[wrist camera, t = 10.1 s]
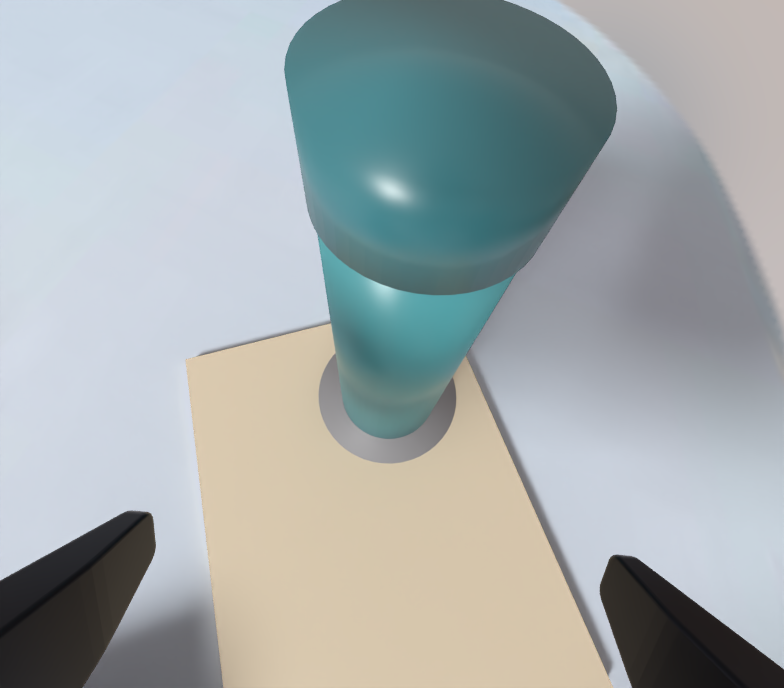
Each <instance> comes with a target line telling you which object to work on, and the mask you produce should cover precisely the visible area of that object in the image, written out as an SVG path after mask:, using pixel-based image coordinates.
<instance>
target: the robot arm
mask: <svg viewBox="0 0 784 688" xmlns="http://www.w3.org/2000/svg"><path fill="white" fill-rule="evenodd" d="M155 548H156V542H155V533H154V523H153V516H152V515H151V513H149V512H142V511H127V512H124V513H122V514H120V515H118V516H117V517H115V518H113V519H111V520H109V521H108V522H106V523H104V524H102V525H100V526H99V527H97V528H95V529H93V530H91V531H89V532H88V533H86V534H84V535H82V536H80V537H79V538H77V539H75V540H73V541H71V542H70V543H68V544H66V545H64V546H62V547H60V548H59V549H57V550H55V551H53V552H51V553H50V554H48V555H46V556H44V557H42V558H40V559H39V560H37V561H35V562H33V563H31V564H30V565H28V566H26V567H24V568H22V569H21V570H19V571H17V572H15V573H13V574H11V575H10V576H8V577H6V578H4V579H2V580H1V581H0V688H83V686H84V684H85V683H86V681H87V680H88V678H89V676H90V675H91V673H92V671H93V670H94V668H95V667H96V665H97V663H98V662H99V660H100V658H101V657H102V655H103V653H104V652H105V650H106V648H107V646H108V644H109V643H110V641H111V639H112V637H113V635H114V633H115V631H116V629H117V627H118V625H119V623H120V622H121V620H122V618H123V616H124V614H125V612H126V610H127V608H128V606H129V604H130V602H131V600H132V598H133V596H134V594H135V592H136V590H137V588H138V586H139V584H140V582H141V580H142V579H143V577H144V575H145V573H146V571H147V569H148V567H149V565H150V563H151V561H152V559H153V556H154V553H155ZM600 596H601V600H602V603H603V606H604V609H605V612H606V615H607V618H608V620H609V623H610V626H611V629H612V632H613V635H614V638H615V641H616V643H617V646H618V649H619V652H620V655H621V658H622V661H623V664H624V667H625V669H626V672H627V675H628V678H629V681H630V683H631V686H632V688H784V669H783V668H781V667H780V666H779V665H777V664H776V663H775V662H774V661H772V660H771V659H770V658H768V657H767V656H766V655H764V654H763V653H762V652H760V651H759V650H758V649H756V648H755V647H754V646H752V645H751V644H750V643H748V642H747V641H746V640H744V639H743V638H742V637H740V636H739V635H738V634H737V633H735V632H734V631H733V630H731V629H730V628H729V627H727V626H726V625H725V624H723V623H722V622H721V621H719V620H718V619H717V618H715V617H714V616H713V615H711V614H710V613H709V612H707V611H706V610H705V609H704V608H702V607H701V606H700V605H698V604H697V603H696V602H694V601H693V600H692V599H690V598H689V597H688V596H686V595H685V594H684V593H682V592H681V591H680V590H678V589H677V588H676V587H674V586H673V585H672V584H670V583H669V582H668V581H667V580H665V579H664V578H663V577H661V576H660V575H659V574H657V573H656V572H655V571H653V570H652V569H651V568H649V567H648V566H647V565H645V564H644V563H643V562H641V561H640V560H639V559H637V558H635V557H633V556H625V555H613V556H612V557H611V558H610V559H609V562H608V564H607V567H606V570H605V573H604V575H603V578H602V581H601V584H600Z"/></svg>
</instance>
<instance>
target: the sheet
mask: <svg viewBox="0 0 784 688" xmlns="http://www.w3.org/2000/svg"><path fill="white" fill-rule="evenodd" d="M186 368H187V376H188V385H189V394H190V403H191V411H192V420H193V429H194V437H195V446H196V455H197V463H198V472H199V481H200V489H201V498H202V507H203V515H204V524H205V533H206V542H207V550H208V559H209V568H210V576H211V585H212V594H213V602H214V611H215V620H216V628H217V637H218V646H219V654H220V663H221V672H222V681H223V688H613V686H612V684H611V682H610V679H609V677H608V675H607V673H606V670H605V668H604V666H603V664H602V661H601V659H600V657H599V655H598V652H597V650H596V648H595V646H594V643H593V641H592V639H591V637H590V634H589V632H588V630H587V627H586V625H585V623H584V621H583V618H582V616H581V614H580V612H579V609H578V607H577V605H576V603H575V600H574V598H573V596H572V594H571V591H570V589H569V587H568V585H567V582H566V580H565V578H564V576H563V573H562V571H561V569H560V567H559V564H558V562H557V560H556V558H555V555H554V553H553V551H552V549H551V546H550V544H549V542H548V540H547V537H546V535H545V533H544V531H543V528H542V526H541V524H540V522H539V519H538V517H537V515H536V513H535V510H534V508H533V506H532V504H531V501H530V499H529V497H528V495H527V492H526V490H525V488H524V486H523V483H522V481H521V479H520V477H519V474H518V472H517V470H516V468H515V465H514V463H513V461H512V459H511V456H510V454H509V452H508V450H507V447H506V445H505V443H504V441H503V438H502V436H501V434H500V432H499V429H498V427H497V425H496V422H495V420H494V418H493V416H492V413H491V411H490V409H489V407H488V404H487V402H486V400H485V398H484V395H483V393H482V391H481V389H480V386H479V384H478V382H477V380H476V377H475V375H474V373H473V371H472V368H471V366H470V364H469V362H468V359H467V357H466V356H465V357H464V359H463V361H462V362H461V364H460V366H459V367H458V369H457V370H456V372H455V374H454V375H453V377H452V379H451V380H450V382H449V384H448V385H447V387H446V388H445V390H444V392H443V393H442V395H441V397H440V398H439V400H438V402H437V403H436V405H435V406H434V408H433V410H432V411H431V413H430V415H429V416H428V418H427V419H426V421H425V422H424V423H423V424H422V426H420V427H419V428H418V429H417V430H416V431H414V432H413V433H411V434H409V435H407V436H404V437H400V438H395V439H383V438H378V437H374V436H371V435H369V434H367V433H365V432H363V431H362V430H360V429H359V428H358V427H357V426H356V425H355V424H354V423H353V422H352V421H351V420H350V418H349V416H348V415H347V413H346V410H345V408H344V404H343V399H342V393H341V386H340V379H339V373H338V366H337V359H336V353H335V346H334V340H333V333H332V326H331V323H330V324H326V325H322V326H318V327H314V328H310V329H306V330H302V331H298V332H294V333H290V334H286V335H282V336H278V337H274V338H270V339H266V340H262V341H258V342H254V343H250V344H246V345H242V346H238V347H234V348H230V349H226V350H222V351H218V352H214V353H210V354H206V355H202V356H198V357H194V358H190V359H186Z"/></svg>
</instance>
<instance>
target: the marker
mask: <svg viewBox="0 0 784 688" xmlns="http://www.w3.org/2000/svg"><path fill="white" fill-rule="evenodd" d="M284 70H285V78H286V86H287V91H288V97H289V103H290V109H291V115H292V121H293V127H294V132H295V138H296V144H297V150H298V156H299V162H300V168H301V173H302V179H303V185H304V191H305V197H306V203H307V209H308V213H309V216H310V219H311V222H312V224H313V226H314V228H315V230H316V232H317V234H318V240H319V247H320V254H321V260H322V267H323V273H324V280H325V287H326V293H327V300H328V306H329V313H330V320H331V326H332V333H333V340H334V346H335V353H336V359H337V366H338V373H339V379H340V386H341V393H342V399H343V404H344V408H345V410H346V413H347V415H348V416H349V418H350V420H351V421H352V422H353V423H354V424H355V425H356V426H357V427H358V428H359V429H360V430H362V431H363V432H365V433H367V434H369V435H371V436H374V437H378V438H383V439H395V438H400V437H404V436H407V435H409V434H411V433H413V432H414V431H416V430H417V429H418V428H419V427H420V426H422V424H423V423H424V422H425V421H426V419H427V418H428V416H429V415H430V413H431V411H432V410H433V408H434V406H435V405H436V403H437V402H438V400H439V398H440V397H441V395H442V393H443V392H444V390H445V388H446V387H447V385H448V384H449V382H450V380H451V379H452V377H453V375H454V374H455V372H456V370H457V369H458V367H459V366H460V364H461V362H462V361H463V359H464V357H465V356H466V354H467V352H468V351H469V349H470V348H471V346H472V344H473V343H474V341H475V339H476V338H477V336H478V334H479V333H480V331H481V330H482V328H483V326H484V325H485V323H486V321H487V320H488V318H489V316H490V315H491V313H492V312H493V310H494V308H495V307H496V305H497V303H498V302H499V300H500V298H501V297H502V295H503V294H504V292H505V290H506V289H507V287H508V285H509V284H510V282H511V280H512V279H513V277H514V276H515V274H516V272H518V271H519V270H520V269H522V268H523V267H524V266H525V265H526V264H527V263H528V262H529V260H530V259H531V258H532V257H533V256H534V254H535V253H536V251H537V249H538V248H539V246H540V245H541V243H542V242H543V240H544V238H545V237H546V235H547V234H548V232H549V231H550V229H551V227H552V226H553V224H554V223H555V221H556V220H557V218H558V216H559V215H560V213H561V212H562V210H563V209H564V207H565V206H566V204H567V202H568V201H569V199H570V198H571V196H572V195H573V193H574V191H575V190H576V188H577V187H578V185H579V184H580V182H581V180H582V179H583V177H584V176H585V174H586V173H587V171H588V169H589V168H590V166H591V165H592V163H593V162H594V160H595V158H596V157H597V155H598V154H599V152H600V151H601V149H602V147H603V146H604V144H605V143H606V141H607V140H608V138H609V136H610V135H611V132H612V130H613V127H614V124H615V120H616V112H617V105H616V95H615V92H614V89H613V86H612V82H611V81H610V79H609V77H608V75H607V73H606V71H605V69H604V68H603V66H602V65H601V64H600V62H599V61H598V59H597V58H596V57H595V56H594V55H593V54H592V53H591V52H590V50H589V49H588V48H587V47H586V46H585V45H583V44H582V43H581V42H580V41H579V40H578V39H577V38H575V37H574V36H573V35H571V34H570V33H569V32H567V31H566V30H564V29H563V28H562V27H560V26H558V25H557V24H555V23H553V22H552V21H550V20H548V19H547V18H545V17H543V16H541V15H539V14H536V13H534V12H532V11H530V10H528V9H525V8H523V7H520V6H518V5H516V4H513V3H510V2H507V1H504V0H341V1H339V2H337V3H335V4H332V5H330V6H328V7H327V8H325V9H323V10H322V11H320V12H318V13H317V14H315V15H314V16H313V17H312V18H311V19H309V20H308V21H307V22H306V23H305V24H304V25H303V26H302V27H301V28H300V29H299V31H298V32H297V33H296V34H295V36H294V38H293V40H292V41H291V43H290V45H289V48H288V51H287V54H286V58H285V68H284Z"/></svg>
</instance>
